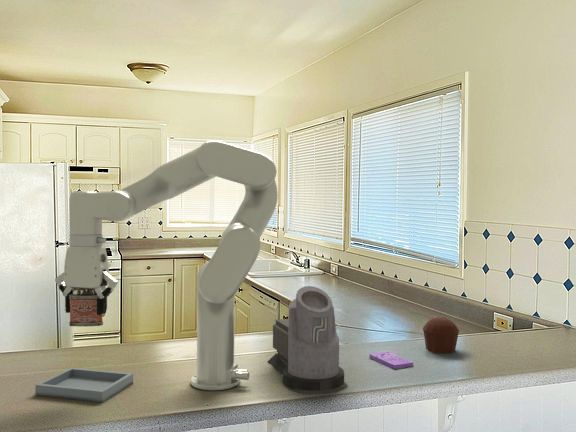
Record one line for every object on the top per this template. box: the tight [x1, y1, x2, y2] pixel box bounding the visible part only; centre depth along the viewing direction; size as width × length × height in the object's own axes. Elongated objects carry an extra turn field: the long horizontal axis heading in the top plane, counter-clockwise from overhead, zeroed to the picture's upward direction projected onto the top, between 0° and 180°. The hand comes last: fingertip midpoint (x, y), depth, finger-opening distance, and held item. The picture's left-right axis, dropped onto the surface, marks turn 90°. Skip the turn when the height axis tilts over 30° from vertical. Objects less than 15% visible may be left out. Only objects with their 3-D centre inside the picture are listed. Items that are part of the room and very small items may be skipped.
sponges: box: [368, 350, 414, 370], centre depth 166 cm, size 7×13×2 cm, turn 26°
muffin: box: [422, 316, 460, 355], centre depth 179 cm, size 12×11×10 cm
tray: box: [34, 367, 134, 404], centre depth 139 cm, size 18×14×2 cm
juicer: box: [267, 285, 349, 395], centre depth 152 cm, size 30×16×24 cm, turn 20°
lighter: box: [68, 288, 104, 328], centre depth 139 cm, size 8×3×10 cm, turn 93°
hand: (86, 312), depth 139 cm, fingers closed on lighter, 8 cm apart
